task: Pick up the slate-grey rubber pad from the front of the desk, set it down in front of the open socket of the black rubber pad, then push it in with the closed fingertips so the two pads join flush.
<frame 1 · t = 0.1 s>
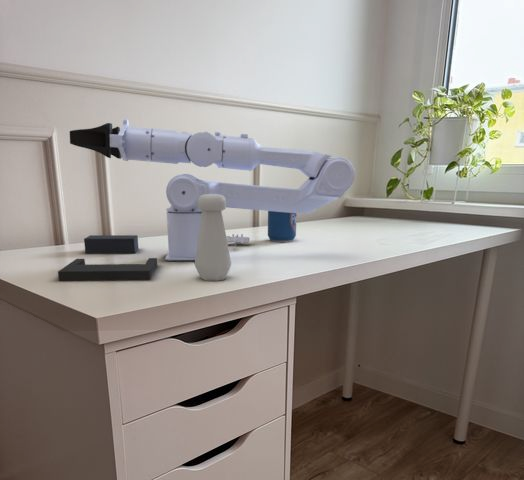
hand: (75, 138, 93), 22 cm above the table, tool horizontal, fingers open, 7 cm apart
black pad: (111, 273, 87), on the table
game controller: (234, 247, 117), on the table
soda can: (281, 241, 127), on the table
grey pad: (112, 251, 109), on the table
salt shaker: (213, 279, 84), on the table
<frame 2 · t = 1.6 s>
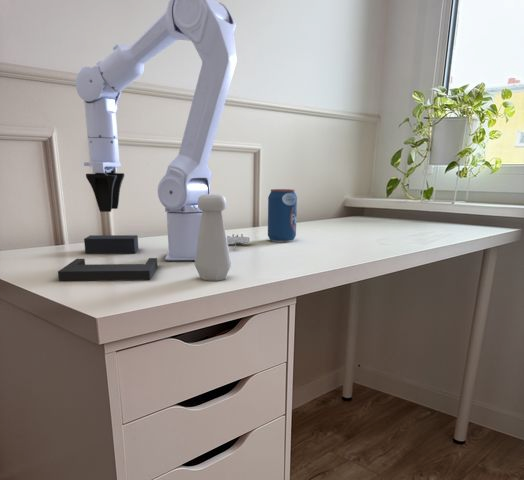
hand: (109, 210, 106), 8 cm above the table, tool pointing down, fingers open, 7 cm apart
nothing on the table moved.
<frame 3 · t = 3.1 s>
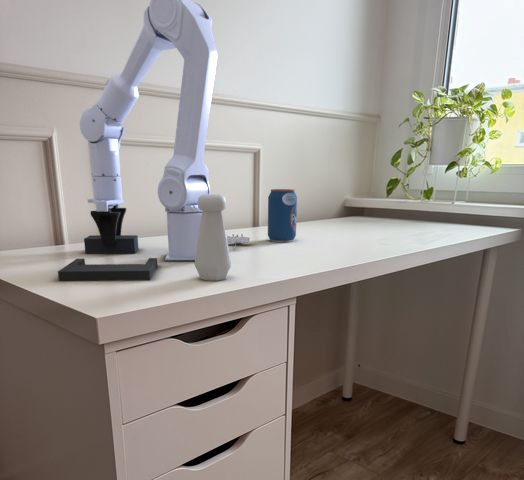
hand: (112, 244, 108), 1 cm above the table, tool pointing down, fingers closed on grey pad, 5 cm apart
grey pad: (112, 251, 109), on the table, touching gripper
everything else where it was.
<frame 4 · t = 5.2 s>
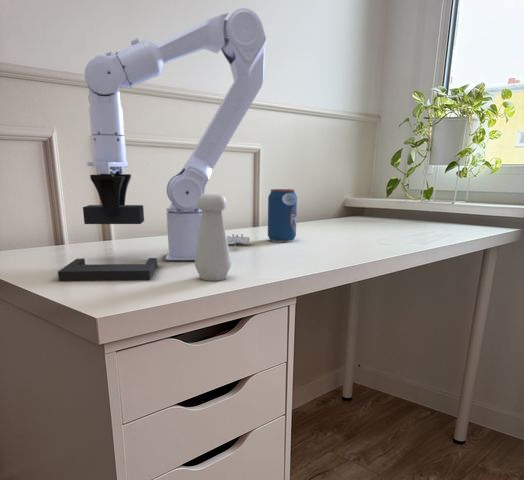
hand: (114, 214, 96), 8 cm above the table, tool pointing down, fingers closed on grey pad, 5 cm apart
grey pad: (115, 222, 97), point 7 cm above the table, touching gripper
everything else where it was.
when the fingers open (1 cm above the table, at t = 7.8 s): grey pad stays where it is, on the table.
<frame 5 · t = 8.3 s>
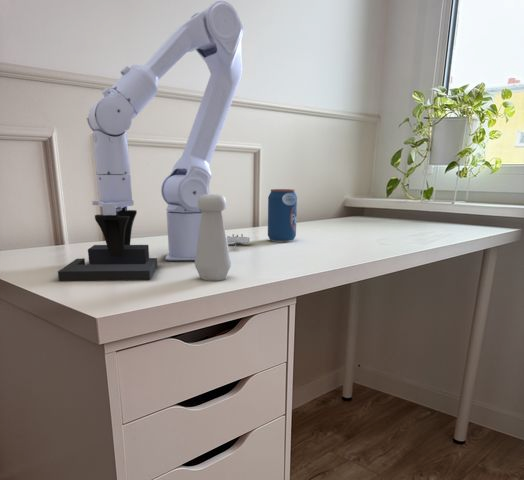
hand: (120, 252, 95), 2 cm above the table, tool pointing down, fingers open, 7 cm apart
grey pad: (120, 263, 96), on the table
everything else where it was.
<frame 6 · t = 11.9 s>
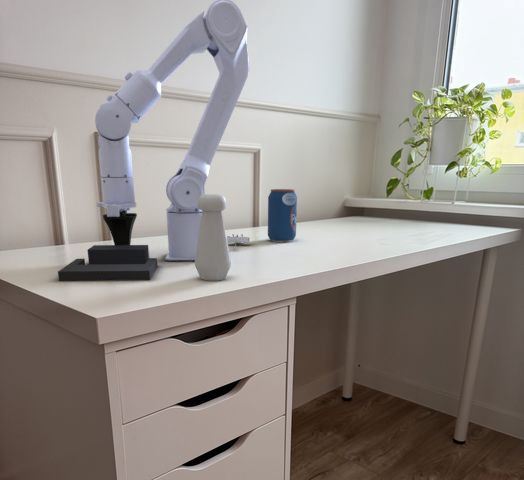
hand: (123, 252, 98), 1 cm above the table, tool pointing down, fingers closed
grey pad: (120, 263, 95), on the table, touching gripper
everything else where it was.
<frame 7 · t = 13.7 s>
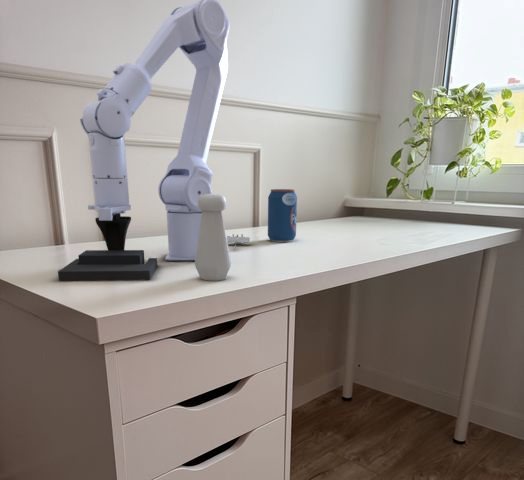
hand: (116, 258, 92), 1 cm above the table, tool pointing down, fingers closed
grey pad: (113, 270, 89), on the table, touching black pad, gripper
everything else where it was.
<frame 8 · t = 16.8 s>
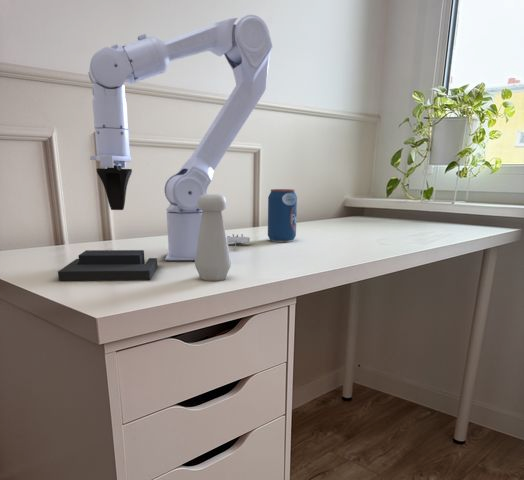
hand: (117, 209, 95), 9 cm above the table, tool pointing down, fingers closed
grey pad: (113, 270, 89), on the table
everything else where it was.
at the end: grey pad 0.3 cm from the target spot on the black pad, point 0.0 cm above the black pad's base; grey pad tilted 0° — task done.
